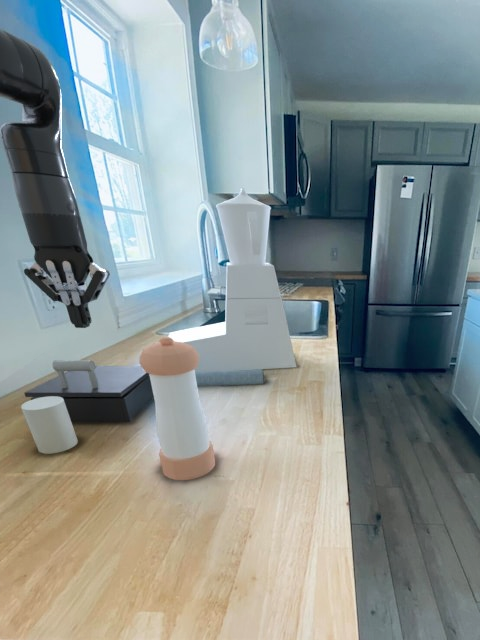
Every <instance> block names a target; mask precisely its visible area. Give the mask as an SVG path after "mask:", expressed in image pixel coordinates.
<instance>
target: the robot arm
mask: <svg viewBox="0 0 480 640" xmlns="http://www.w3.org/2000/svg"><path fill="white" fill-rule="evenodd" d="M0 98H2V99H5V100H8V101H12V102H15V103H18V104H20V106H21V121H9V122H5V123H3V124H1V126H0V139H1V144H2V147H3V149H4V153H5V154H4V155H5V157H6V161H7V163H8V166H9V167H8V168H9V170H10V173H11V177H12V181H13V187H14V193H15V196H16V200H17V203H18V207H19V210H20V213H21V216H22V219H23V223H24V225H25V229H26V232H27V235H28V240H29V242H30V244H31V245H32V246H33V249H34V255H33V259H34V263H33V264H32V265H31V266H30V267H28V268H24V269H23V273H24V275H25V276H26V278H28V279H29V280H30V281H31V282H32V283H34V285H36V286H37V288H39V289H40V290H41V292H43V293H44V294H45V295H46V296H47V297H49V299H50V300H51V301H53V302H59V303H62V304H63V305H64V306H65V307H66V310H67V314H68V317H69V321H70V324H72V325H73V326H74V327H75V328H76V329H86V328H89V327H90V325H91V324H92V317H91V312H90V309H89V303H91V302H93V301H96V300H98V298H99V297H100V295H101V293H102V291H103V289H104V287H105V285H106V283H107V281H108V279H109V278H110V276H111V275H110V274H111V273H110V270H108V269H107V268H106V269H105V268H104V269H103V268H102V267H100V266H98V264H96V263H94V259H93V257H92V255H91V254H90V253H89V250H88V242H87V239H86V234H85V229H84V226H83V222H82V217H81V213H80V209H79V205H78V201H77V197H76V195H75V192H74V189H73V186H72V183H71V180H70V176H69V173H68V169H67V165H66V160H65V156H64V152H63V149H62V91H61V85H60V82H59V78H58V75H57V72H56V71H55V68H54V66H53V65H52V63H51V61H50V60H49V58H48V57H47V56H46V54H45V53H44V52H43V51H42V50H41V49H40V48H39V47H37V46H36V45H34V44H33V43H31V42H29V41H26V40H25V39H24V38H21V37H18V36H16V35H14V34H13V33H10V32H8V31H6V30H4V29H2V28H0ZM88 277H90V278H91V279H90V281H89V283H88V284H87V279H88Z"/></svg>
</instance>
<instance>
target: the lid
mask: <svg viewBox="0 0 480 640" xmlns="http://www.w3.org/2000/svg"><path fill="white" fill-rule="evenodd" d="M52 369H53V371H55V372H57V376H55V377H53V378H51V379H49V380H47V381H45V382H43V383H41V384H38V385H37V386H35V387H33V388H31V389H29V390H27V391H25V392H23V393H24V396H25V398H32V397H48V396H58V397H122V396H123V395H124V394H126V393H127V392H128V391H129V390H131V389H132V388H133V387H135V386H136V385H137V384H138V383H140V382H141V381H142V380H144V379H145V378H146V377H148V376H149V373H146V372H145V371H144V369H143V368H142V367H141V365H96V363H95V361H94V360H91V359H88V360H86V359H85V360H84V359H82V360H79V359H77V360H76V359H69V360H67V359H64V360H63V359H57V360H56V359H55V360H53V361H52Z"/></svg>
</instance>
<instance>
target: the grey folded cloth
mask: <svg viewBox="0 0 480 640" xmlns="http://www.w3.org/2000/svg"><path fill="white" fill-rule="evenodd" d="M263 370H264V369H256V370H239V371H214V372H195V376H196V382H197V387H204V386H205V387H207V386H220V387H221V386H223V387H224V386H245V385H264V383H265V372H264V371H263Z"/></svg>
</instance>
